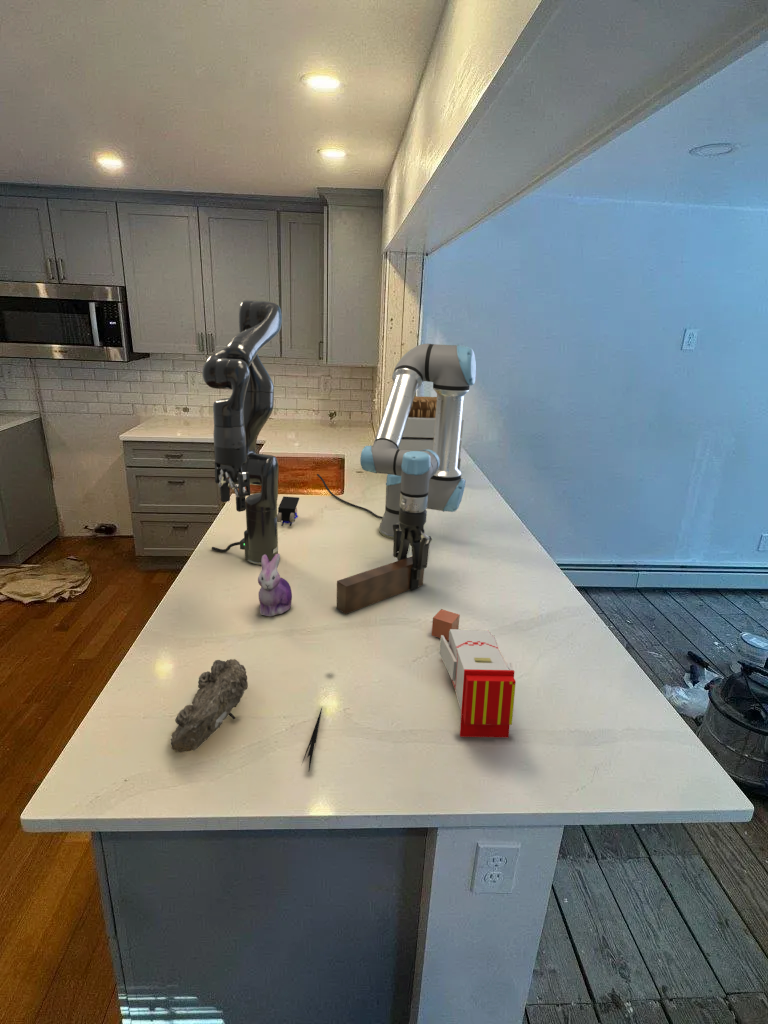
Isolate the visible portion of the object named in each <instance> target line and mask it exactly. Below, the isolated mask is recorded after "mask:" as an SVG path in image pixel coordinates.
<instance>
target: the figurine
mask: <svg viewBox="0 0 768 1024" xmlns="http://www.w3.org/2000/svg"><path fill="white" fill-rule="evenodd" d="M280 560H281V555H280V553H278V554H276V555H275V556H274V557H273V559H272V560H271V561H269V559H268V557H267V555H263V556H262V560H261V564H262V565H261V571H260V572H259V575H258V577H257V583H258V585H259V586H260V588H259V591H258V600H259V604H260V605H259V614H260V615H262V616H265V617H274V616H276V615H281V614H284V613H285V612H287V611H288V610H290V609H291V607H292V599H293V593H292V588H291V585H290V583H289V581H287V579H285V578H284V577H281V576H280V573H279V571H278V567H279V564H280Z"/></svg>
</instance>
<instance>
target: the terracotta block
mask: <svg viewBox="0 0 768 1024" xmlns="http://www.w3.org/2000/svg"><path fill="white" fill-rule="evenodd" d="M460 617H461V614H460V613H456V612H452V611H449V610H446V609H442V608H440V609H439V611H438V612H437V613H436V614H434V616H433V617H432V624H431V636H432V637H436V638H439V639H441V635H444V637H445V639H446V641H447V642H449V631H450V629H459V626H460Z"/></svg>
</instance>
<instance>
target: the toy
mask: <svg viewBox="0 0 768 1024" xmlns="http://www.w3.org/2000/svg"><path fill="white" fill-rule="evenodd" d="M438 654H439V656H440V658H441V660H442V662H443V665H444V666H445V668H446V671H447V673H448V675H449V677H450V681H451V683H452V685H453V689H454V690H455V695H456V698H457V702H458V705H459V708H460V726H459V737H460V738H509V737H510V728H511V727H510V726H512V725H513V717H514V706H515V705H514V704H515V693H516V684H517V683H516V679H515V670H514V669H510V667H509V666H508V663H507V662H506V660H505V658H504V655H503V654H502V652H501V650H500V648H499V644H498V642H497V638H496V635H495V634H492V632H491V631H490V629H467V628H466V629H465V628H463V629H461V628H460V629H459V628H458V629H450V631H449V641H447V640H446V639H445V637H444V635H441V638H440V641H439V651H438Z"/></svg>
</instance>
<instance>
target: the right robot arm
mask: <svg viewBox="0 0 768 1024" xmlns="http://www.w3.org/2000/svg"><path fill="white" fill-rule="evenodd" d="M476 376H477V363H476V355H475V351H474V350H473V348H472V347H470V346H466V345H465V346H464V345H459V344H438V343H437V344H436V343H435V344H434V343H421V344H418V345H415V346H413V347H412V348H411V349H409V350H408V351H407V352H406V353H405V354H404V355H402V357H401V358H400V359H399V360H398V362H397V364H396V365H395V367H394V370H393V372H392V375H391V379H392V382H393V383H392V385H391V388H390V392H389V395H388V397H387V400H386V404H385V408H384V410H383V413H382V415H381V420H380V423H379V424H378V425H379V426H378V429H377V432H376V434H375V437H374V440H373V444H372V445H365V446H364V447H363V448H362V450H361V451H360V452H361V453H360V457H359V458H360V460H359V462H360V466H361V468H362V470H363V471H364V472H369V473H374V474H382V475H386V482H385V504H384V505H385V507H384V508H385V509H384V513H383V515H382V516H380V515H378V514H376V513H375V512H373V511H372V510H370V509H368V508H366V507H363V506H360V505H356V504H354V503H351V502H349V501H346V500H345V499H343V498H340V497H338V496H337V495H335V494H334V493H333V492H332V491H331V490H330V488H329V487H328V485H327V484H326V481H325V479H324V478H323V477H322V476H321V475H320V474H319V473H316V476H317V477H318V478H319V479H320V480H321V482H322V483H323V485H324V487H325V489H326V491H327V492H328V493H329V494H330V495H331V496H332V497H333V498H335V499H336V500H338V501H340V502H342V503H344V504H346V505H349V506H351V507H354V508H357V509H359V510H363V511H365V512H367V513H369V514H371V515H372V516H374V517H375V518H377V519H380V520H381V522H379V526H378V533H379V534H380V535H381V536H382V537H385V538H387V539H389V540H393V546H392V547H393V548H392V550H393V552H392V556H393V558H396V561H399V560H402V559H405V558H408V553H409V549H410V546H411V556H412V560H413V568H411V574H410V590H409V591H413V590H416V589H419V587H418V583H419V579H420V574H421V570H422V569H424V570H425V569H427V568H428V561H429V553H430V552H429V551H430V545H431V542H432V540H433V538H432V536H431V535H427V534H426V533H425V524H426V523H427V515H428V514H427V513H428V510H433V511H439V512H440V511H441V512H448V513H449V512H450V513H454V512H456V511H457V510H458V509H459V508H460V505H461V502H462V499H463V496H464V493H465V492H464V491H465V489H466V479H464V478H462V471H461V470H460V471H459V469H458V468H457V465H458V454H459V443H460V440H461V438H460V432H461V421H462V419H463V410H464V409H463V408H464V399H465V395H467V393H468V392H470V387H471V386H474V385H475V383H476ZM423 382H429V383H432V390H434V392H435V393H436V397H437V402H436V415H435V428H434V441H433V451H432V450H428V449H426V450H421V451H409V450H401V449H399V445H400V442H401V439H402V435H403V432H404V429H405V426H406V422H407V419H408V416H409V413H410V409H411V406H412V403H413V399H414V397H416V392H417V390H418V389H420V387H422V384H423ZM417 564H418V565H417Z"/></svg>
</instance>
